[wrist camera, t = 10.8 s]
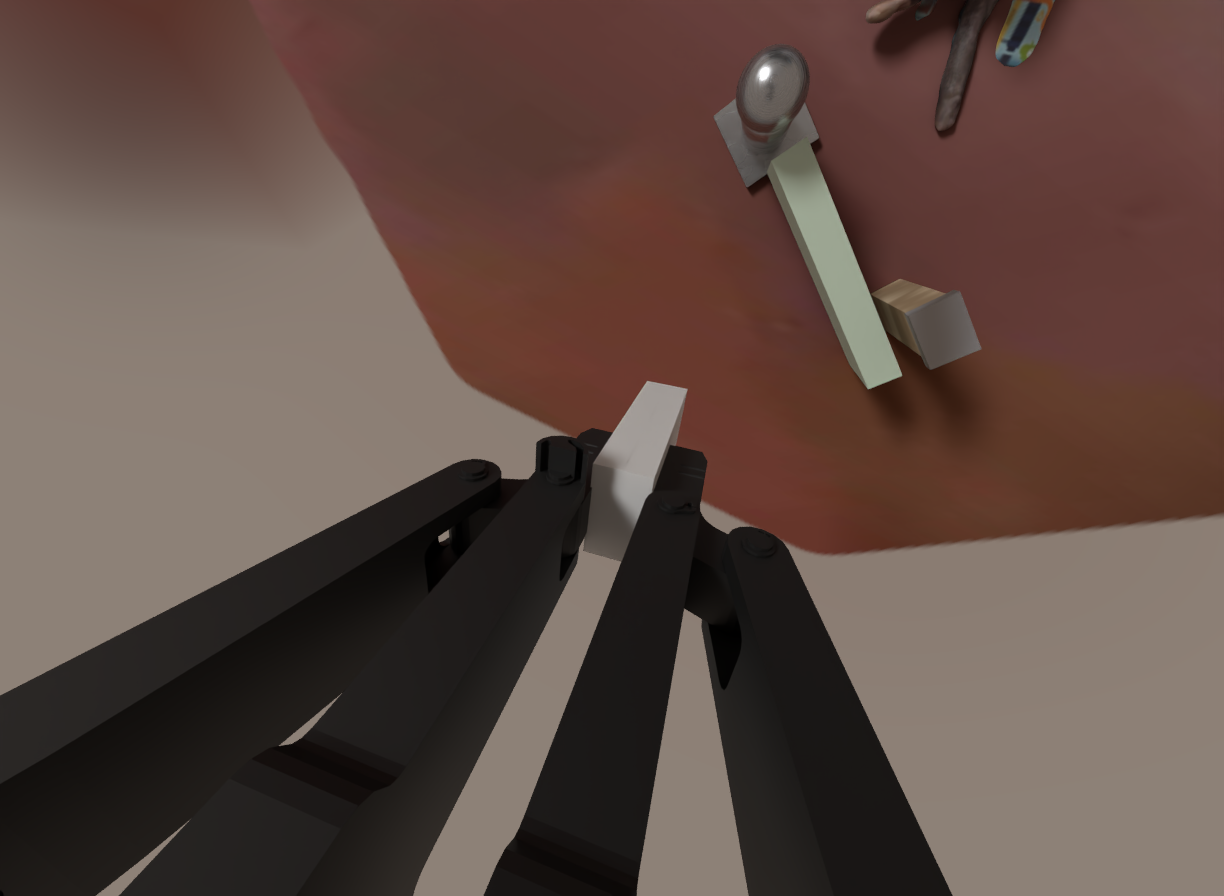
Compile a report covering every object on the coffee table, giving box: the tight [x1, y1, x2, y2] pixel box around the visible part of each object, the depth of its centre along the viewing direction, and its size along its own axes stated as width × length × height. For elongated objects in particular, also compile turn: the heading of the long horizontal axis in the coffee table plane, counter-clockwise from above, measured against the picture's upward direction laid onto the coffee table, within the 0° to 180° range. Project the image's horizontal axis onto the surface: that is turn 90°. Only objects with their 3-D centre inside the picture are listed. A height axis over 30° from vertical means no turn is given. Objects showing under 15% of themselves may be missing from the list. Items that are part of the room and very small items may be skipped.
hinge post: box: [713, 44, 819, 188], centre depth 25 cm, size 5×5×11 cm
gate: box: [767, 137, 902, 389], centre depth 29 cm, size 15×2×6 cm, turn 32°
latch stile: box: [870, 279, 981, 370], centre depth 28 cm, size 2×3×10 cm
